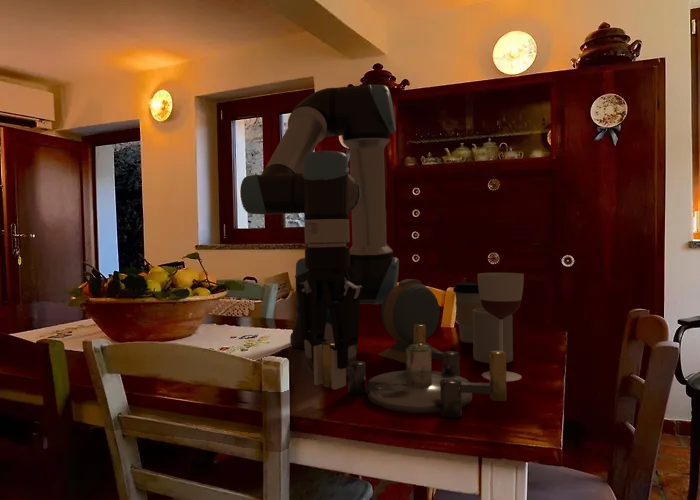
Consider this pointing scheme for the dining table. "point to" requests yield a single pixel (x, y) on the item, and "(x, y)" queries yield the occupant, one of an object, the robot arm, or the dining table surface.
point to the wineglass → (501, 302)
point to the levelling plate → (408, 395)
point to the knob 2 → (474, 387)
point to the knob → (353, 371)
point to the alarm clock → (408, 315)
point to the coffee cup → (466, 308)
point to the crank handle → (448, 358)
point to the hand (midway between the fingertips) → (330, 384)
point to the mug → (490, 335)
